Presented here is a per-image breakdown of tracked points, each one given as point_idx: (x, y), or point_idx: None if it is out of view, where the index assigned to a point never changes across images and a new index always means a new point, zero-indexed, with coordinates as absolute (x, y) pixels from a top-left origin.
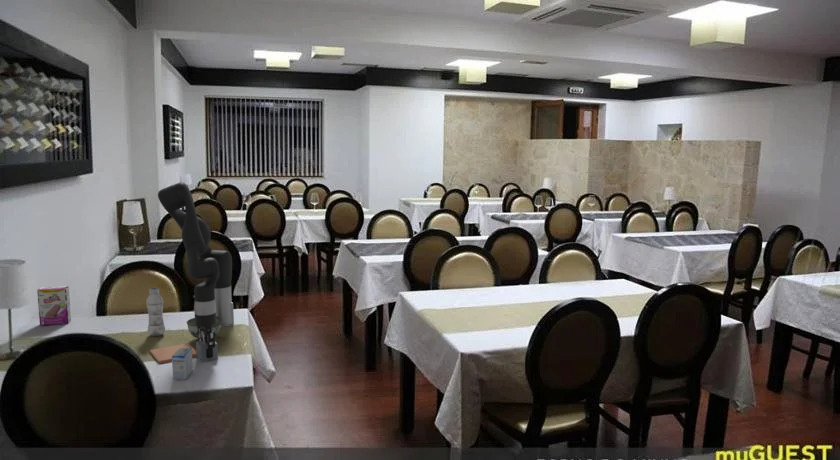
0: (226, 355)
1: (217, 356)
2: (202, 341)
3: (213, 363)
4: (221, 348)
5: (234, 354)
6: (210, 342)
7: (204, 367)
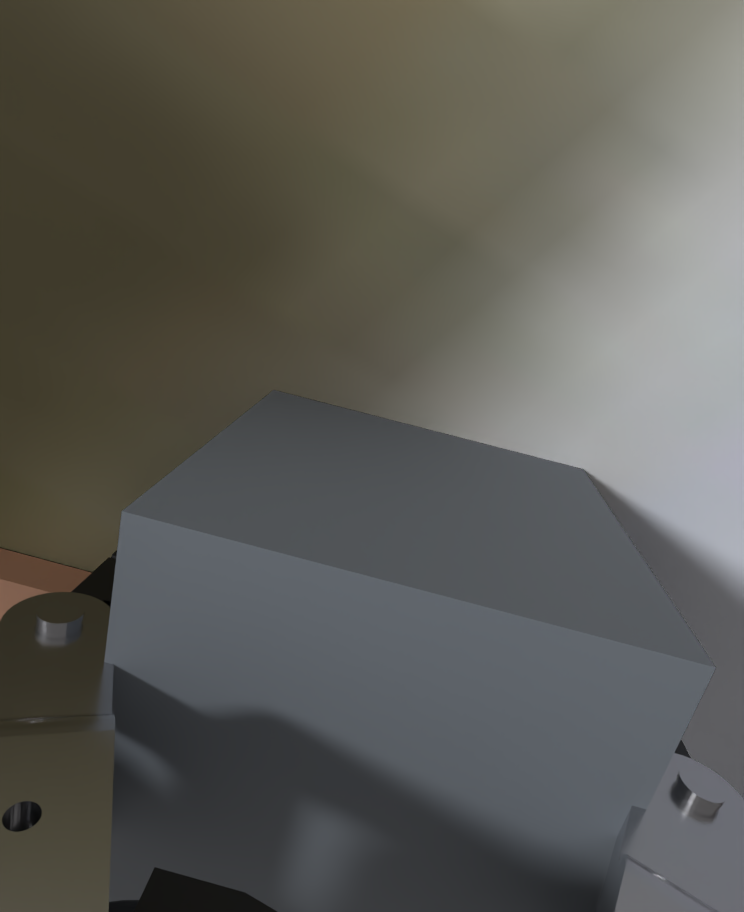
0: (573, 246)
1: (591, 492)
2: (161, 825)
3: (722, 649)
4: (88, 59)
5: (678, 69)
6: (433, 747)
7: None
